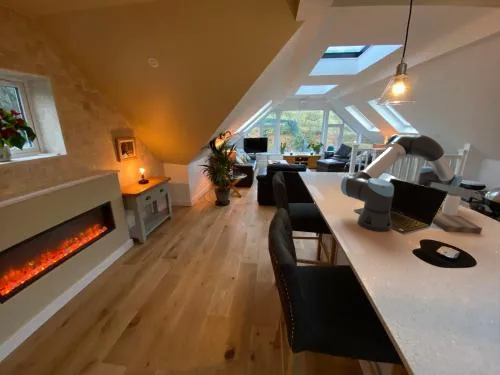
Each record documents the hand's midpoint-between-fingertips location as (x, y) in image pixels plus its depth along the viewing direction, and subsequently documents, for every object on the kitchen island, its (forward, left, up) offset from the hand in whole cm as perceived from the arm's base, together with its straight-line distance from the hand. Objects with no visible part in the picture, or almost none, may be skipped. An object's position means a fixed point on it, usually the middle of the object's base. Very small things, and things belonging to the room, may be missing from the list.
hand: (454, 205), depth 127 cm
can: (0, +2, -7) cm, 7 cm away
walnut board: (-9, -14, -6) cm, 18 cm away
